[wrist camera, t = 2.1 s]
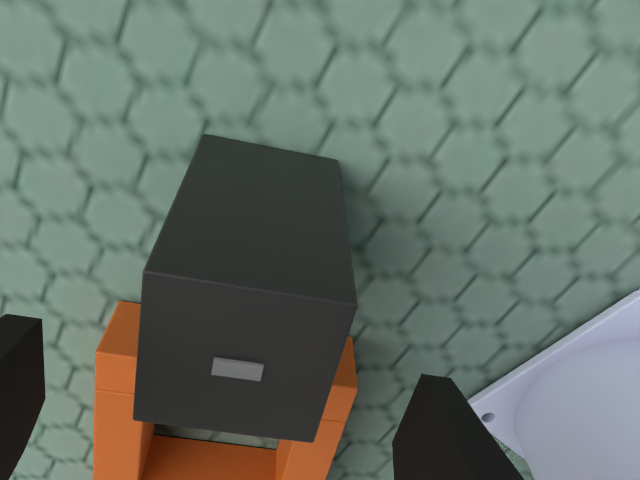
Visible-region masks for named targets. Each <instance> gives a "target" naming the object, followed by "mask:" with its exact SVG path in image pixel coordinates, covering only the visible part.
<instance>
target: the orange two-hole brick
mask: <svg viewBox="0 0 640 480" xmlns="http://www.w3.org/2000/svg"><path fill="white" fill-rule="evenodd" d="M140 306H141V304H139V303H132V302H126V301H119V303H118V305H117V307H116V309H115V311H114V313H113V316H112V318H111V320H110V322H109V324H108V326H107V328H106V331H105V333H104V335H103V337H102V339H101V341H100V344H99V346H98V348H97V350H96V352H95V403H94V454H93V480H326V478H327V475H328V472H329V469H330V467H331V464H332V461H333V458H334V455H335V452H336V450H337V447H338V444H339V441H340V438H341V436H342V433H343V430H344V427H345V424H346V421H347V419H348V416H349V413H350V410H351V408H352V405H353V402H354V399H355V396H356V394H357V391H358V385H357V376H356V367H355V359H354V350H353V341H352V337H351V336H348V338H347V341H346V344H345V347H344V350H343V353H342V356H341V360H340V363H339V366H338V369H337V372H336V375H335V378H334V381H333V384H332V387H331V391H330V394H329V397H328V400H327V403H326V406H325V409H324V412H323V415H322V419H321V422H320V425H319V428H318V431H317V434H316V437H315V440H314V442H313V443H307V442H299V441H291V440H283V439H279V442H278V446H277V450H273V449H264V448H256V447H248V446H240V445H232V444H224V443H216V442H207V441H199V440H191V439H183V438H175V437H167V436H159V435H154V425H155V423H148V422H140V421H134V420H133V405H134V391H135V377H136V363H137V348H138V334H139V320H140Z"/></svg>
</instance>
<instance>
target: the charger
mask: <svg viewBox="0 0 640 480" xmlns="http://www.w3.org/2000/svg"><path fill="white" fill-rule="evenodd" d="M357 307H358V305H357V298H356V290H355V283H354V276H353V269H352V261H351V254H350V247H349V239H348V232H347V225H346V218H345V210H344V203H343V196H342V188H341V181H340V174H339V167H338V161H337V160H333V159H328V158H323V157H318V156H313V155H308V154H303V153H298V152H293V151H288V150H283V149H278V148H273V147H267V146H262V145H257V144H252V143H247V142H242V141H237V140H232V139H227V138H222V137H217V136H212V135H207V134H203V135H202V137H201V140H200V142H199V144H198V146H197V149H196V151H195V153H194V156H193V158H192V160H191V163H190V165H189V167H188V169H187V172H186V174H185V176H184V179H183V181H182V183H181V185H180V188H179V190H178V192H177V195H176V197H175V199H174V201H173V204H172V206H171V208H170V211H169V213H168V215H167V218H166V220H165V222H164V224H163V227H162V229H161V231H160V234H159V236H158V238H157V240H156V243H155V245H154V247H153V250H152V252H151V254H150V257H149V259H148V261H147V263H146V266H145V268H144V270H143V278H142V292H141V306H140V320H139V334H138V348H137V363H136V377H135V391H134V405H133V420H134V421H140V422H148V423H156V424H163V425H171V426H179V427H187V428H195V429H203V430H211V431H219V432H227V433H235V434H243V435H251V436H259V437H267V438H275V439H283V440H291V441H299V442H307V443H313V442H314V440H315V437H316V434H317V431H318V428H319V425H320V422H321V419H322V415H323V412H324V409H325V406H326V403H327V400H328V397H329V394H330V391H331V387H332V384H333V381H334V378H335V375H336V372H337V369H338V366H339V363H340V360H341V356H342V353H343V350H344V347H345V344H346V341H347V338H348V335H349V332H350V328H351V325H352V322H353V319H354V316H355V313H356V310H357Z"/></svg>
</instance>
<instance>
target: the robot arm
mask: <svg viewBox="0 0 640 480" xmlns="http://www.w3.org/2000/svg"><path fill="white" fill-rule="evenodd" d="M44 401H45V378H44V355H43V333H42V319H39V318H32V317H25V316H18V315H11V314H6V315H4V316H2V317H1V318H0V480H9V478H10V476H11V474H12V472H13V471H14V469H15V467H16V465H17V463H18V461H19V460H20V458H21V456H22V454H23V452H24V450H25V448H26V445H27V443H28V440H29V438H30V436H31V433H32V431H33V428H34V426H35V423H36V421H37V418H38V416H39V413H40V411H41V408H42V406H43V403H44ZM486 413H488V414H486ZM490 433H491V434H492V435H493V436H495V437H496V438H497V439H498V440H500V441H501V442H502V443H504V444H505V445H506V446H508V447H509V448H510V449H511V450H513V451H514V452H515V453H517V454H518V455H519V456H521V457H522V458H523V459H524V460H526V461H527V463H528V466H529V468H530V471H531V473H532V476H533V478H534V480H640V289H639V290H636V291H634V292H632V293H631V294H629V295H628V296H626V297H625V298H623V299H622V300H620V301H619V302H617V303H616V304H614V305H613V306H611V307H609V308H608V309H606V310H605V311H603V312H602V313H600V314H599V315H597V316H596V317H594V318H593V319H591V320H590V321H588V322H586V323H585V324H583V325H582V326H580V327H579V328H577V329H576V330H574V331H573V332H571V333H570V334H568V335H567V336H565V337H563V338H562V339H560V340H559V341H557V342H556V343H554V344H553V345H551V346H550V347H548V348H547V349H545V350H543V351H542V352H540V353H539V354H537V355H536V356H534V357H533V358H531V359H530V360H528V361H527V362H525V363H524V364H522V365H520V366H519V367H517V368H516V369H514V370H513V371H511V372H510V373H508V374H507V375H505V376H504V377H502V378H501V379H499V380H497V381H496V382H494V383H493V384H491V385H490V386H488V387H487V388H485V389H484V390H482V391H481V392H479V393H478V394H476V395H474V396H473V397H471V398H470V399H469V400H468V401H467V400H466V399H465V397H464V396H463V394H462V393H461V392H460V390H459V389H458V387H457V386H456V385H455V383H454V382H453V381H452V379H451V378H446V377H439V376H432V375H425V374H421V376H420V379H419V381H418V383H417V386H416V388H415V390H414V393H413V395H412V397H411V400H410V402H409V404H408V407H407V409H406V411H405V414H404V416H403V418H402V421H401V423H400V425H399V428H398V430H397V432H396V435H395V437H394V439H393V441H392V447H393V466H394V480H524V478H523V477H522V476H521V475H520V473H519V472H518V471H517V469H516V468H515V467H514V465H513V464H512V463H511V461H510V460H509V459H508V457H507V456H506V455H505V453H504V452H503V451H502V449H501V448H500V446H499V445H498V444H497V442H496V441H495V440H494V438H493V437H492V435H491V434H490Z"/></svg>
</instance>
